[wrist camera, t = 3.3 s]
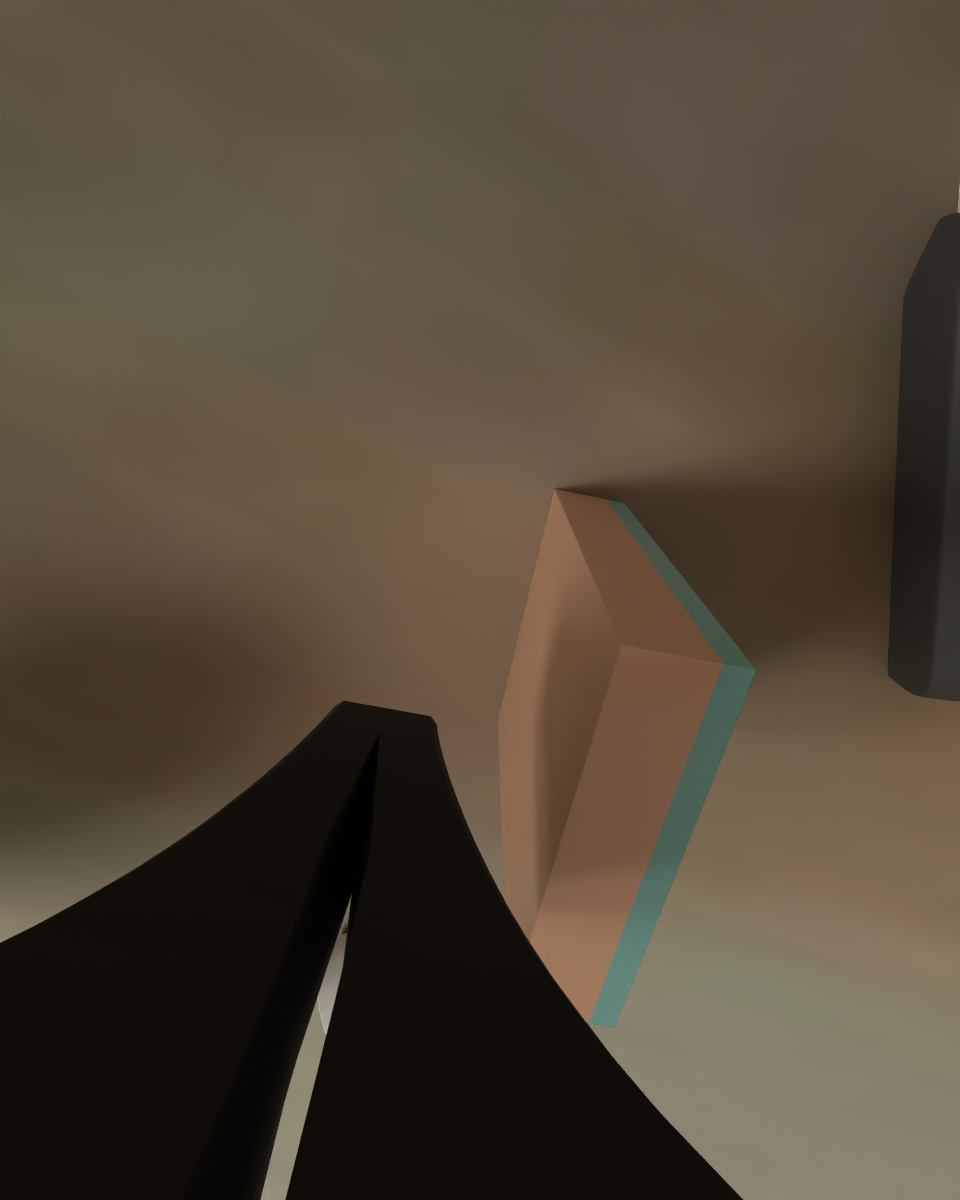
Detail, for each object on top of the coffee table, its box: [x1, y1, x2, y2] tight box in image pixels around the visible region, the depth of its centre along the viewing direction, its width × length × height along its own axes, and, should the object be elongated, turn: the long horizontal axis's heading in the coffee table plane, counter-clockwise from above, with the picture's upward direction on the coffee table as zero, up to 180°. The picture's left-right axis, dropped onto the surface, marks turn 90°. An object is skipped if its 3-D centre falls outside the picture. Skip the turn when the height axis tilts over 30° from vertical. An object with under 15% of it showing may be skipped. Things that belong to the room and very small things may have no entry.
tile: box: [498, 489, 756, 1027], centre depth 13 cm, size 2×6×8 cm, turn 168°
